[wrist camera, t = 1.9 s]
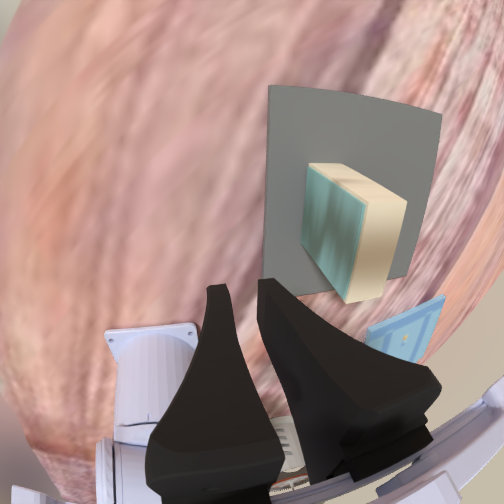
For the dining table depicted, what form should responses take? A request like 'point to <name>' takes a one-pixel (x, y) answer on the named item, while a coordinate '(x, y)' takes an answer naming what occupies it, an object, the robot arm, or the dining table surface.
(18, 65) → the dining table surface
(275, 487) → the french press
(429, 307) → the folded blue cloth
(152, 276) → the dining table surface
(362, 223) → the beige and teal block
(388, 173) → the mat
